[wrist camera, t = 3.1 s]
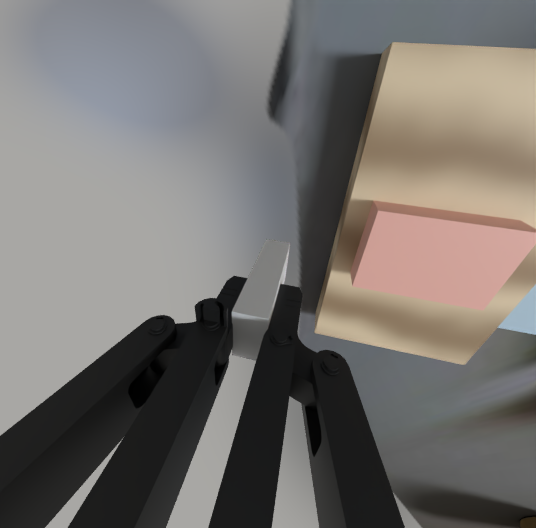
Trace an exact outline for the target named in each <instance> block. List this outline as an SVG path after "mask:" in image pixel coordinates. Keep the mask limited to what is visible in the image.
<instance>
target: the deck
mask: <svg viewBox="0 0 536 528" xmlns="http://www.w3.org/2000/svg"><path fill="white" fill-rule="evenodd" d="M373 200H374V201H381V202H389V203H396V204H403V205H411V206H418V207H426V208H433V209H441V210H448V211H455V212H463V213H470V214H478V215H485V216H492V217H500V218H507V219H515V220H521V221H523V222H524V223H526V224H528V225H530V226H531V227H533V228H535V229H536V49H525V48H504V47H483V46H462V45H441V44H420V43H399V42H392V43H391V44H390V45H389V47H388V48H387V49H386V50H385V51H384V52H383V53H382V55H381V59H380V63H379V67H378V71H377V75H376V79H375V82H374V86H373V90H372V94H371V98H370V102H369V106H368V110H367V114H366V118H365V122H364V126H363V130H362V133H361V137H360V141H359V145H358V149H357V153H356V157H355V161H354V165H353V169H352V173H351V177H350V181H349V184H348V188H347V192H346V196H345V200H344V204H343V208H342V212H341V216H340V220H339V224H338V228H337V232H336V235H335V239H334V243H333V247H332V251H331V255H330V259H329V263H328V267H327V271H326V275H325V279H324V283H323V286H322V290H321V294H320V298H319V302H318V306H317V310H316V318H315V333H317V334H322V335H327V336H331V337H336V338H341V339H345V340H350V341H355V342H359V343H364V344H369V345H373V346H378V347H383V348H387V349H392V350H397V351H401V352H406V353H411V354H415V355H420V356H425V357H429V358H434V359H439V360H443V361H448V362H453V363H457V364H462V365H465V364H466V362H467V361H468V360H469V359H470V358H471V357H472V356H473V355H474V353H475V352H476V351H477V350H478V349H479V348H480V347H481V345H482V344H483V343H484V342H485V341H486V340H487V339H488V338H489V336H490V335H491V334H492V333H493V332H494V331H495V330H496V329H497V327H498V326H499V325H500V324H501V323H502V322H503V321H504V319H505V318H506V317H507V316H508V315H509V314H510V313H511V312H512V310H513V309H514V308H515V307H516V306H517V305H518V304H519V302H520V301H521V300H522V299H523V298H524V297H525V296H526V295H527V293H528V292H529V291H530V290H531V289H532V288H533V287H534V286H535V284H536V244H535V246H534V247H533V248H532V249H531V251H530V252H529V253H528V255H527V256H526V257H525V258H524V260H523V261H522V262H521V263H520V265H519V266H518V267H517V268H516V270H515V271H514V272H513V274H512V275H511V276H510V277H509V279H508V280H507V281H506V282H505V284H504V285H503V286H502V287H501V289H500V290H499V291H498V292H497V294H496V295H495V296H494V298H493V299H492V300H491V301H490V303H489V304H488V305H487V306H486V308H485V309H484V310H477V309H472V308H467V307H461V306H456V305H450V304H445V303H439V302H434V301H429V300H423V299H418V298H412V297H407V296H401V295H396V294H390V293H385V292H380V291H374V290H369V289H363V288H358V287H352V281H351V273H350V271H351V268H352V265H353V262H354V259H355V256H356V253H357V249H358V246H359V243H360V240H361V237H362V234H363V231H364V228H365V225H366V222H367V219H368V215H369V212H370V209H371V206H372V203H373Z"/></svg>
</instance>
